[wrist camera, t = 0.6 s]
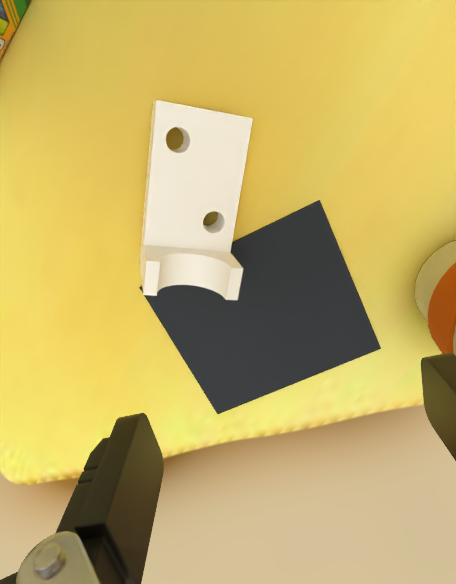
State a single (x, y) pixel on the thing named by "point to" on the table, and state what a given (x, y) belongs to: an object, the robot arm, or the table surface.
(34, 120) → the table surface
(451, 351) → the reusable coffee cup
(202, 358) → the mat
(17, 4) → the chalk box
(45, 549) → the robot arm
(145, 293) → the bracket
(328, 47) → the table surface
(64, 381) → the table surface
